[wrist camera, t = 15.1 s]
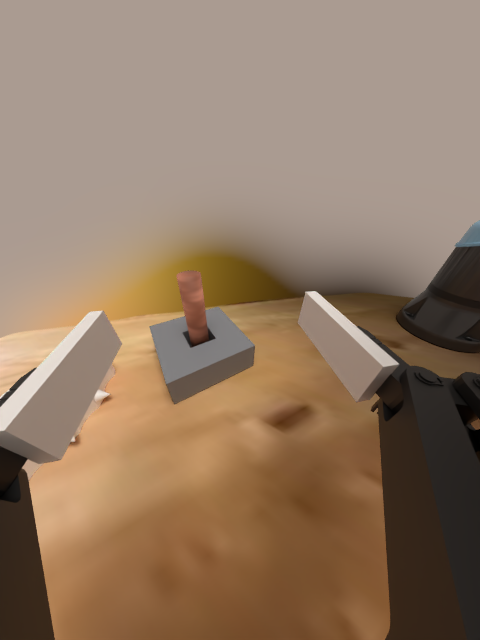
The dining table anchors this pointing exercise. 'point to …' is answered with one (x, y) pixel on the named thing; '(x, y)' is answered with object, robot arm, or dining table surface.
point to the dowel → (193, 306)
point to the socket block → (200, 354)
